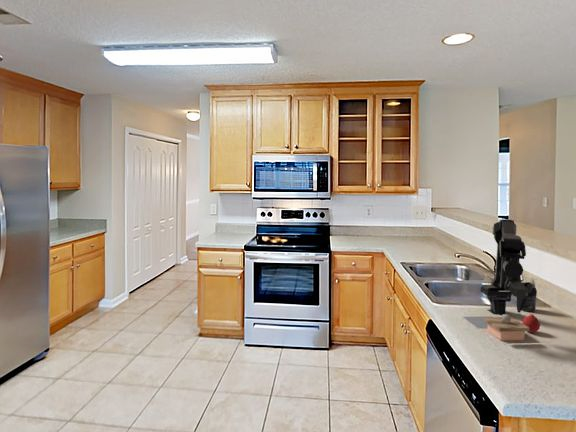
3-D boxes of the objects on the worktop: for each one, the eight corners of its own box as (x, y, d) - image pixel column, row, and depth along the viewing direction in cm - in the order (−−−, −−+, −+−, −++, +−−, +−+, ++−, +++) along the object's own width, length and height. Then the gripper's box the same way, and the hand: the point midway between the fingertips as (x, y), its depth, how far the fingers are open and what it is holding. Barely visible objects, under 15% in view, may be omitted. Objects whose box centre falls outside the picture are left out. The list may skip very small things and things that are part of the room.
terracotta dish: (487, 332, 162) (487, 321, 161) (509, 332, 163) (510, 321, 162) (500, 342, 153) (501, 330, 153) (524, 341, 154) (524, 329, 153)
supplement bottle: (515, 306, 193) (517, 281, 192) (531, 307, 192) (533, 282, 191) (521, 311, 186) (523, 285, 185) (538, 312, 185) (540, 286, 184)
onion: (533, 330, 165) (534, 310, 164) (542, 336, 159) (544, 315, 158) (518, 330, 164) (520, 310, 164) (527, 336, 159) (529, 316, 158)
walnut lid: (483, 320, 162) (484, 311, 162) (511, 320, 163) (511, 310, 163) (500, 331, 152) (500, 321, 151) (529, 330, 152) (529, 320, 152)
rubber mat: (462, 318, 178) (462, 316, 178) (492, 317, 179) (492, 316, 178) (478, 329, 165) (478, 328, 165) (510, 329, 166) (510, 327, 166)
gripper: (497, 277, 146) (494, 320, 148) (548, 276, 147) (545, 319, 149) (480, 269, 157) (478, 309, 159) (528, 269, 159) (525, 309, 160)
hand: (506, 312), depth 157 cm, fingers open, 9 cm apart
